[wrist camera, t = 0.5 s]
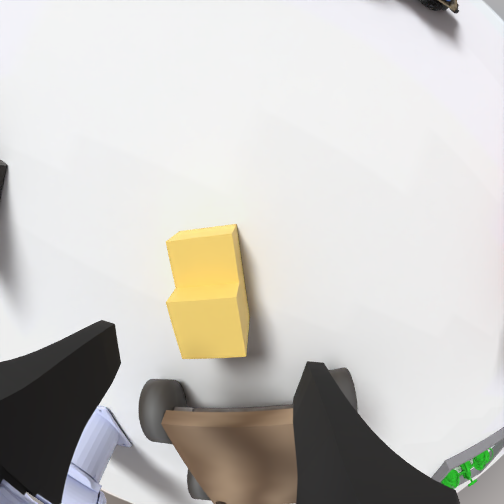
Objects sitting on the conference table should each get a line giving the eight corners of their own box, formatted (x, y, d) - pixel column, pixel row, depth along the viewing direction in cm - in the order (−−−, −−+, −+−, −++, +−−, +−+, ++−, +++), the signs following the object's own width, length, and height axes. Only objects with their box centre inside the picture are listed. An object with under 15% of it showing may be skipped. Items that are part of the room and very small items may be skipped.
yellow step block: (198, 319, 21) (182, 358, 16) (179, 230, 19) (153, 251, 14) (249, 316, 20) (246, 356, 16) (236, 223, 18) (227, 242, 14)
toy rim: (412, 499, 35) (414, 506, 33) (445, 460, 29) (449, 469, 26) (478, 466, 33) (480, 472, 31) (515, 418, 27) (520, 425, 25)
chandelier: (488, 452, 32) (497, 469, 25) (439, 485, 34) (446, 504, 28) (490, 435, 28) (502, 456, 22) (432, 476, 31) (441, 498, 25)
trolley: (204, 470, 28) (189, 558, 13) (154, 365, 22) (89, 502, 8) (328, 464, 26) (342, 555, 12) (342, 353, 21) (396, 511, 7)
